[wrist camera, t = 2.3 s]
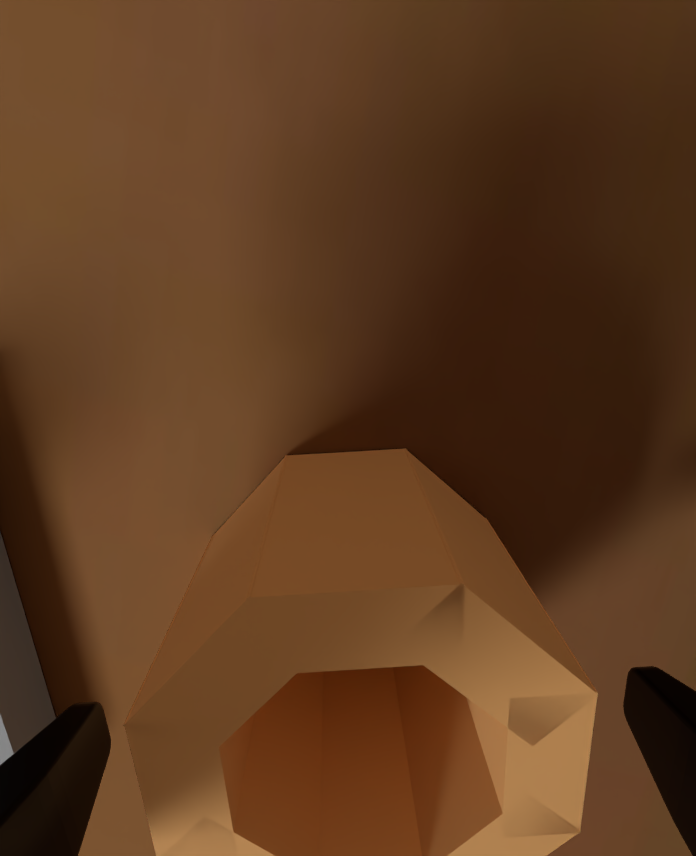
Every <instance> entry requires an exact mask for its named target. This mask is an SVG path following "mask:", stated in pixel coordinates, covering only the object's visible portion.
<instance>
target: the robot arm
mask: <svg viewBox="0 0 696 856" xmlns="http://www.w3.org/2000/svg"><path fill="white" fill-rule="evenodd" d="M623 707H624V714H625V717H626V720H627V722H628V725H629V727H630V729H631V731H632V733H633V735H634V738H635V740H636V742H637V744H638V746H639V748H640V750H641V753H642V755H643V757H644V759H645V761H646V763H647V766H648V768H649V770H650V772H651V774H652V776H653V779H654V781H655V783H656V785H657V787H658V789H659V791H660V794H661V796H662V798H663V800H664V802H665V804H666V806H667V809H668V811H669V813H670V815H671V817H672V819H673V821H674V823H675V825H676V826H677V828H678V830H679V832H680V834H681V836H682V837H683V839H684V841H685V843H686V845H687V846H688V848H689V850H690V852H691V853H692V855H693V856H696V691H694V690H693V689H691V688H690V687H688V686H687V685H685V684H683V683H682V682H680V681H679V680H677V679H675V678H674V677H672V676H671V675H669V674H667V673H666V672H664V671H663V670H661V669H659V668H657V667H653V666H649V667H634V668H631V669H630V671H629V672H628V676H627V683H626V690H625V697H624V705H623ZM110 748H111V738H110V733H109V729H108V725H107V722H106V718H105V714H104V710H103V707H102V705H101V704H100V703H99V702H85V703H76V704H74V705H72V706H70V707H69V708H68V709H67V710H65V711H64V712H63V713H62V714H61V715H59V716H58V717H57V718H56V719H55V720H53V721H52V722H51V723H50V724H49V725H47V726H46V727H45V728H44V729H43V730H41V731H40V732H39V733H38V734H37V735H35V736H34V737H33V738H32V739H31V740H29V741H28V742H27V743H26V744H25V745H23V746H22V747H21V748H20V749H19V750H17V751H16V752H15V753H14V754H13V755H11V756H10V757H9V758H8V759H7V760H5V761H4V762H3V763H2V764H1V765H0V856H78V854H79V851H80V848H81V845H82V841H83V838H84V835H85V832H86V828H87V825H88V822H89V819H90V815H91V812H92V809H93V806H94V802H95V799H96V796H97V793H98V789H99V786H100V783H101V780H102V776H103V773H104V770H105V767H106V763H107V760H108V757H109V753H110Z"/></svg>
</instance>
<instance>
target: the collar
mask: <svg viewBox="0 0 696 856" xmlns="http://www.w3.org/2000/svg"><path fill="white" fill-rule="evenodd" d="M597 696H598V692H597V691H596V689H595V688H594V686H593V685H592V683H591V681H590V680H589V678H588V677H587V675H586V674H585V672H584V670H583V669H582V667H581V666H580V664H579V663H578V661H577V659H576V658H575V656H574V655H573V653H572V652H571V650H570V648H569V647H568V645H567V644H566V642H565V641H564V639H563V637H562V636H561V634H560V633H559V631H558V630H557V628H556V627H555V625H554V623H553V622H552V620H551V619H550V617H549V616H548V614H547V612H546V611H545V609H544V608H543V606H542V605H541V603H540V601H539V600H538V598H537V597H536V595H535V594H534V592H533V590H532V589H531V587H530V586H529V584H528V583H527V581H526V579H525V578H524V576H523V575H522V573H521V572H520V570H519V568H518V567H517V565H516V564H515V562H514V561H513V559H512V558H511V556H510V554H509V553H508V551H507V550H506V548H505V547H504V545H503V543H502V542H501V540H500V539H499V537H498V536H497V534H496V532H495V531H494V529H493V528H492V526H491V525H490V523H489V521H488V520H487V518H485V517H483V516H482V515H481V514H480V513H479V512H478V511H476V510H475V509H474V508H473V507H472V506H471V505H470V504H468V503H467V502H466V501H465V500H464V499H463V498H462V497H460V496H459V495H458V494H457V493H456V492H455V491H453V490H452V489H451V488H450V487H449V486H448V485H447V484H445V483H444V482H443V481H442V480H441V479H440V478H439V477H437V476H436V475H435V474H434V473H433V472H432V471H431V470H429V469H428V468H427V467H426V466H425V465H424V464H422V463H421V462H420V461H419V460H418V459H417V458H416V457H414V456H413V455H412V454H411V453H410V452H409V451H408V450H407V449H405V448H404V449H389V450H372V451H355V452H338V453H321V454H304V455H286V456H285V457H284V459H283V460H282V461H281V462H280V463H279V464H278V465H277V466H276V467H275V468H274V469H273V471H272V472H271V473H270V474H269V475H268V476H267V477H266V478H265V479H264V480H263V481H262V483H261V484H260V485H259V486H258V487H257V488H256V489H255V490H254V491H253V492H252V494H251V495H250V496H249V497H248V498H247V499H246V500H245V501H244V502H243V503H242V504H241V506H240V507H239V508H238V509H237V510H236V511H235V512H234V513H233V514H232V515H231V516H230V518H229V519H228V520H227V521H226V522H225V523H224V524H223V525H222V526H221V527H220V529H219V530H218V531H217V532H216V533H215V534H214V535H212V537H211V540H210V542H209V544H208V546H207V548H206V550H205V552H204V554H203V557H202V559H201V561H200V563H199V565H198V567H197V569H196V571H195V574H194V576H193V578H192V580H191V582H190V584H189V586H188V589H187V591H186V593H185V595H184V597H183V599H182V601H181V603H180V606H179V608H178V610H177V612H176V614H175V616H174V618H173V620H172V623H171V625H170V627H169V629H168V631H167V633H166V635H165V637H164V640H163V642H162V644H161V646H160V648H159V650H158V652H157V654H156V657H155V659H154V661H153V663H152V665H151V667H150V669H149V671H148V674H147V676H146V678H145V680H144V682H143V684H142V686H141V688H140V691H139V693H138V695H137V697H136V699H135V701H134V703H133V705H132V708H131V710H130V712H129V714H128V716H127V718H126V720H125V722H124V727H125V730H126V734H127V738H128V742H129V746H130V750H131V754H132V758H133V762H134V767H135V771H136V775H137V779H138V783H139V787H140V791H141V795H142V799H143V803H144V807H145V811H146V815H147V820H148V824H149V828H150V832H151V836H152V840H153V844H154V848H155V852H156V856H547V855H548V854H550V853H551V852H552V851H554V850H555V849H557V848H558V847H559V846H561V845H562V844H564V843H565V842H566V841H568V840H569V839H571V838H572V837H573V836H575V835H576V834H578V833H580V831H581V830H580V827H581V819H582V811H583V804H584V796H585V788H586V780H587V772H588V764H589V757H590V749H591V741H592V733H593V725H594V717H595V710H596V702H597Z"/></svg>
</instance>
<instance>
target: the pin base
mask: <svg viewBox="0 0 696 856" xmlns="http://www.w3.org/2000/svg"><path fill="white" fill-rule="evenodd" d="M55 719H56V717H55V713H54V710H53V707H52V703H51V700H50V697H49V693H48V690H47V687H46V683H45V680H44V676H43V673H42V670H41V666H40V663H39V660H38V656H37V653H36V650H35V646H34V643H33V640H32V636H31V633H30V629H29V626H28V623H27V619H26V616H25V613H24V609H23V606H22V603H21V599H20V596H19V593H18V589H17V586H16V583H15V579H14V576H13V572H12V569H11V566H10V562H9V559H8V556H7V552H6V549H5V546H4V542H3V539H2V536H1V532H0V765H1V764H2V763H3V762H4V761H5V760H7V759H8V758H9V757H10V756H11V755H13V754H14V753H15V752H16V751H17V750H19V749H20V748H21V747H22V746H23V745H25V744H26V743H27V742H28V741H29V740H31V739H32V738H33V737H34V736H35V735H37V734H38V733H39V732H40V731H41V730H43V729H44V728H45V727H46V726H47V725H49V724H50V723H51V722H52V721H53V720H55Z"/></svg>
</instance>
